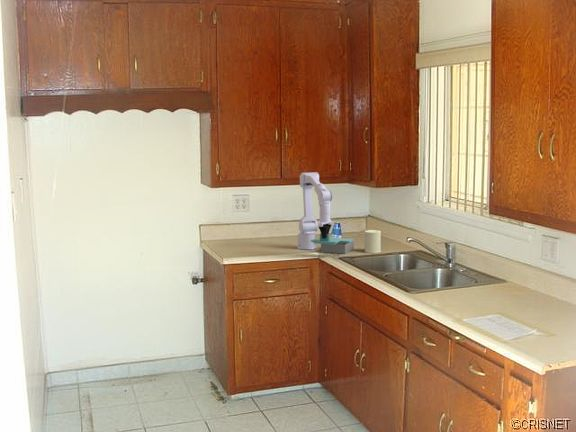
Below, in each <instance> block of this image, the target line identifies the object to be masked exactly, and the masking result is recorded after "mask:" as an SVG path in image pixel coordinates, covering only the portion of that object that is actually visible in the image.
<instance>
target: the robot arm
mask: <svg viewBox="0 0 576 432" xmlns="http://www.w3.org/2000/svg"><path fill="white" fill-rule="evenodd" d="M299 187H300V188H302V194H303V195H302V196H303V197H302V198H303V199H302V201H303V216H302V217H301V218H300V219H299V222H298V230H299V233H298V235H297V250H311V251H313V250H315V249H317V248H318V246H316V243H313V242H311V240H313V239H316V238H315V237H316V233H317V231H320V234H321V236H322V239H326V237H327V234H330V230H331V228H332V223H333V221H332V219H331V201H332V199H333V194H332V193H333V192H332V190H330V189H329V190H328V189H327V188H326V186H325V185H324V184H323V183H322V182H321V181H320V173H318V172H317V171H315V172H313V171H312V172H301V173H300V175H299ZM313 187H314V189H313ZM312 189H313V190H314V192H315V194H316V195H317V201H318V206H319V222H318V220H317V218H315V216H313V198H312V196H313V194H312Z"/></svg>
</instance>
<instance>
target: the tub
mask: <svg viewBox="0 0 576 432" xmlns="http://www.w3.org/2000/svg"><path fill="white" fill-rule="evenodd" d="M330 239H336V240H340V242H338V243H337V244H335V245H333V244H320V253H324V254H336V255H337V254H340V255H346V254H348V253H349V252H351V251H353V250H354V249H355V248H354V247H355V246H354V243H355V239H354V238H341V237H330Z"/></svg>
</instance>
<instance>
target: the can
mask: <svg viewBox="0 0 576 432" xmlns="http://www.w3.org/2000/svg"><path fill="white" fill-rule="evenodd" d="M381 234H382V231H381V230H379V229H377V230H376V229H368V230H367V229H366V230H364V251H363V252H364V253H368V254H378V253H381V252H382V250H381V247H382V246H381V245H382V244H381V241H382V240H381V239H382V237H381V236H382V235H381Z"/></svg>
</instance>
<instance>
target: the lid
mask: <svg viewBox="0 0 576 432" xmlns="http://www.w3.org/2000/svg"><path fill="white" fill-rule="evenodd" d="M330 238H331V234H330V233H329V234H327V237H326V239H322V236H321V233H320V234H319V238H318V237H317V238H315V239H313V240H311V242H313V243H315V244H317V245H318V244H320V245H321V244H333V245H335V244H337V243H338V242H340V240H336V239H330Z"/></svg>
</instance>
